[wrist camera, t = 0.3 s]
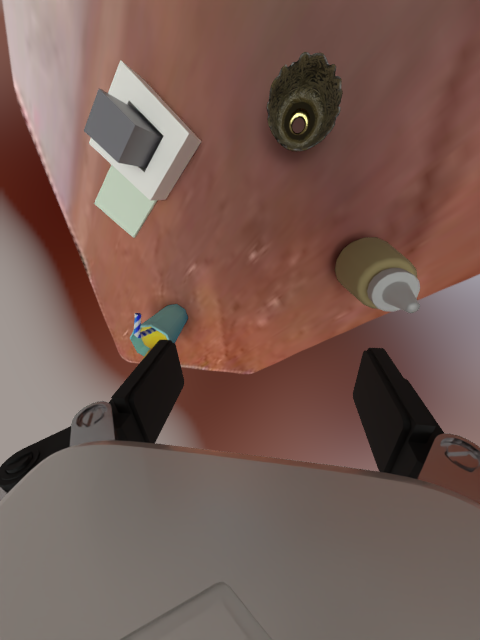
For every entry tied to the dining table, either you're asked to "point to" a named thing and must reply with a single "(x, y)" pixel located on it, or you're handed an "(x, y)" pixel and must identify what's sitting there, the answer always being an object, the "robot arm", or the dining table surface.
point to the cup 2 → (304, 101)
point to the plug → (122, 131)
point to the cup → (158, 328)
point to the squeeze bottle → (378, 275)
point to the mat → (123, 202)
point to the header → (175, 132)
